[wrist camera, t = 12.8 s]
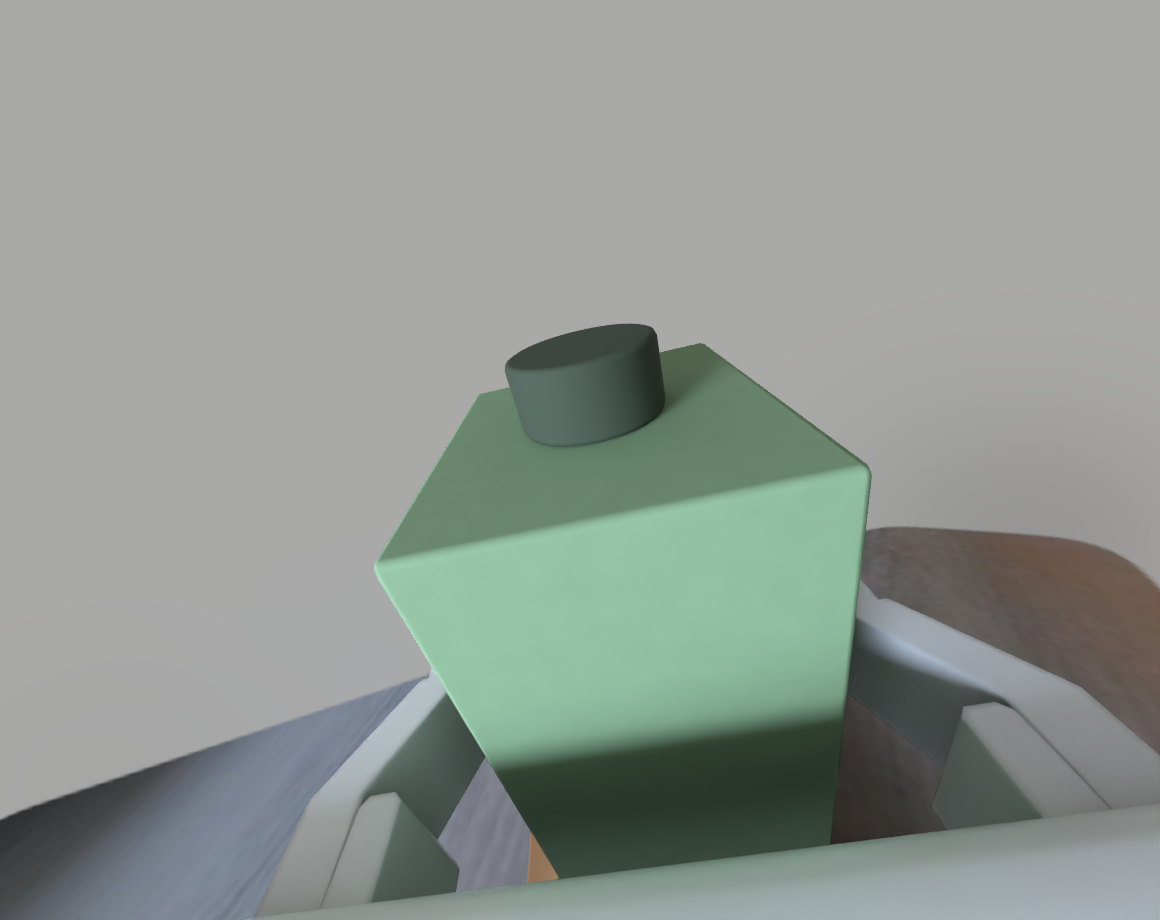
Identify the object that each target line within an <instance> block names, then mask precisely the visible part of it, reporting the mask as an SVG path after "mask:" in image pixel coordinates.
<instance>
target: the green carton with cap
mask: <svg viewBox="0 0 1160 920" xmlns="http://www.w3.org/2000/svg"><path fill="white" fill-rule="evenodd" d="M505 373H506V376H507V380H508V383H509V386H510V387H509V388H505V389H500V390H496V391H492V392H488V393H483V394H480V395H478V396H477V398H476V399H475V401H474V403H473V404H472V406H471V407H470V409H469V411H468V412H467V414H466V416H465V417H464V419H463V420H462V422H461V424H460V425H459V427H458V429H457V430H456V432H455V433H454V435H453V437H452V438H451V440H450V442H449V443H448V445H447V446H446V448H445V450H444V451H443V453H442V455H441V456H440V458H439V459H438V461H437V463H436V464H435V466H434V468H433V469H432V471H431V472H430V474H429V476H428V477H427V479H426V481H425V482H424V484H423V486H422V487H421V489H420V491H419V492H418V494H417V495H416V497H415V498H414V500H413V502H412V503H411V505H410V507H409V508H408V510H407V512H406V513H405V515H404V516H403V518H402V520H401V521H400V523H399V525H398V526H397V528H396V529H395V531H394V533H393V534H392V536H391V538H390V539H389V541H388V542H387V544H386V546H385V547H384V549H383V551H382V552H381V554H380V555H379V557H378V559H377V560H376V562H375V566H374V570H375V574H376V576H377V578H378V579H379V581H380V582H381V584H382V586H383V587H384V589H385V591H386V593H387V594H388V596H389V597H390V599H391V601H392V602H393V604H394V606H395V607H396V609H397V611H398V612H399V614H400V616H401V617H402V619H403V621H404V622H405V624H406V625H407V627H408V629H409V630H410V632H411V634H412V636H413V637H414V639H415V641H416V642H417V644H418V645H419V647H420V649H421V650H422V652H423V654H424V655H425V657H426V659H427V660H428V662H429V664H430V665H431V667H432V669H433V670H434V672H435V674H436V675H437V677H438V679H439V680H440V682H441V684H442V685H443V687H444V688H445V690H446V692H447V693H448V695H449V697H450V698H451V700H452V702H453V703H454V705H455V707H456V708H457V710H458V712H459V713H460V715H461V717H462V718H463V720H464V722H465V723H466V725H467V727H468V728H469V730H470V732H471V733H472V735H473V736H474V738H475V740H476V741H477V743H478V745H479V746H480V748H481V750H482V751H483V753H484V755H485V756H486V758H487V760H488V761H489V763H490V765H491V766H492V768H493V770H494V771H495V773H496V775H497V776H498V778H499V779H500V781H501V783H502V784H503V786H504V788H505V789H506V791H507V793H508V794H509V796H510V798H511V799H512V801H513V803H514V804H515V806H516V808H517V809H518V811H519V813H520V814H521V816H522V818H523V819H524V821H525V823H526V824H527V826H528V827H529V829H530V831H531V832H532V834H533V836H534V837H535V839H536V841H537V842H538V844H539V846H540V847H541V849H542V851H543V852H544V854H545V856H546V857H547V859H548V861H549V862H550V864H551V866H552V867H553V869H554V870H555V872H556V874H557V875H558V877H559V879H564V878H572V877H580V876H588V875H596V874H604V873H611V872H619V871H627V870H635V869H643V868H651V867H659V866H667V865H675V864H683V863H691V862H699V861H707V860H715V859H722V858H730V857H738V856H746V855H754V854H762V853H770V852H778V851H786V850H794V849H802V848H810V847H818V846H826V845H830V839H831V830H832V821H833V813H834V804H835V795H836V786H837V777H838V769H839V760H840V751H841V742H842V733H843V725H844V716H845V707H846V698H847V689H848V681H849V672H850V663H851V654H852V645H853V636H854V628H855V619H856V610H857V601H858V592H859V584H860V575H861V566H862V557H863V548H864V540H865V531H866V522H867V513H868V504H869V496H870V495H869V494H870V486H871V477H872V475H871V472H870V469H869V467H868V465H867V464H866V463H864V462H863V461H862V460H860V459H859V458H858V457H856V456H855V455H854V454H852V453H851V452H849V451H848V450H847V449H845V448H844V447H843V446H841V445H840V444H839V443H837V442H836V441H835V440H833V439H832V438H831V437H829V436H828V435H826V434H825V433H824V432H822V431H821V430H820V429H818V428H817V427H816V426H814V425H813V424H812V423H810V422H809V421H807V420H806V419H805V418H803V417H802V416H801V415H799V414H798V413H797V412H795V411H794V410H793V409H791V408H790V407H789V406H787V405H786V404H784V403H783V402H782V401H780V400H779V399H778V398H776V397H775V396H774V395H772V394H771V393H770V392H768V391H767V390H766V389H764V388H763V387H761V386H760V385H759V384H757V383H756V382H755V381H753V380H752V379H751V378H749V377H748V376H747V375H745V374H744V373H743V372H741V371H740V370H738V369H737V368H736V367H734V366H733V365H732V364H730V363H729V362H728V361H726V360H725V359H724V358H722V357H721V356H719V355H718V354H717V353H715V352H714V351H713V350H711V349H710V348H709V347H707V346H706V345H705V344H701V343H699V344H695V345H690V346H686V347H682V348H677V349H673V350H669V351H664V352H661V353H659V347H658V340H657V334H656V333H655V331H654V329H653V328H651V327H649V326H646V325H640V324H616V325H606V326H600V327H594V328H589V329H584V330H580V331H576V332H572V333H568V334H564V335H560V336H557V337H554V338H551V339H548V340H545V341H542V342H540V343H537V344H535V345H532V346H530V347H528V348H526V349H524V350H522V351H520V352H519V353H517V354H516V355H514V356H513V357H512V358H510V359H509V360H508V361H507V363H506V365H505Z"/></svg>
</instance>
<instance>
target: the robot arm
mask: <svg viewBox="0 0 1160 920" xmlns="http://www.w3.org/2000/svg"><path fill="white" fill-rule="evenodd" d="M847 693H848V694H849V695H851V696H852V697H853V698H855V699H856V700H857V701H858V702H860V703H861V704H862V705H864V706H865V707H866V708H867V709H869V710H870V711H871V712H873V713H874V714H875V715H876V716H878V717H879V718H880V719H882V720H883V721H884V722H885V723H887V724H888V725H889V726H891V727H892V728H893V729H894V730H896V731H897V732H898V733H900V734H901V735H902V736H903V737H905V738H906V739H907V740H909V741H910V742H911V743H912V744H914V745H915V746H916V747H918V748H919V749H920V750H921V751H923V752H924V753H925V754H927V755H928V756H929V757H930V758H932V759H933V760H934V761H936V762H937V763H938V764H939V765H941V766H942V767H943V768H944V769H943V772H942V776H941V779H940V782H939V785H938V788H937V791H936V794H935V798H934V801H933V804H932V807H933V809H934V811H935V812H936V814H937V815H938V817H939V818H940V820H941V822H942V823H943V825H944V826H945V828H946V829H947V830H944V831H936V832H929V833H921V834H913V835H905V836H897V837H889V838H881V839H873V840H865V841H857V842H849V843H841V844H833V845H826V846H818V847H810V848H802V849H794V850H786V851H778V852H770V853H762V854H754V855H746V856H738V857H730V858H722V859H715V860H707V861H699V862H691V863H683V864H675V865H667V866H659V867H651V868H643V869H635V870H627V871H619V872H611V873H604V874H596V875H588V876H580V877H572V878H564V879H556V880H548V881H540V882H532V883H524V884H517V885H509V886H501V887H493V888H485V889H477V890H469V891H461V892H456V888H457V882H458V876H459V870H460V869H459V867H458V865H457V863H456V861H455V860H454V859H453V858H452V856H451V855H450V854H449V853H448V852H447V851H446V850H445V848H444V847H443V846H442V845H441V844H440V843H439V842H438V840H437V839H438V838H439V836H440V834H441V832H442V831H443V829H444V827H445V826H446V824H447V822H448V820H449V819H450V817H451V815H452V813H453V812H454V810H455V808H456V806H457V805H458V803H459V801H460V800H461V798H462V796H463V794H464V793H465V791H466V789H467V787H468V786H469V784H470V782H471V780H472V779H473V777H474V775H475V774H476V772H477V770H478V768H479V767H480V765H481V763H482V761H483V760H484V758H485V755H484V753H483V751H482V750H481V748H480V746H479V745H478V743H477V741H476V740H475V738H474V736H473V735H472V733H471V732H470V730H469V728H468V727H467V725H466V723H465V722H464V720H463V718H462V717H461V715H460V713H459V712H458V710H457V708H456V707H455V705H454V703H453V702H452V700H451V698H450V697H449V695H448V693H447V692H446V690H445V688H444V687H443V685H442V684H441V682H440V680H439V679H438V677H437V675H436V674H435V672H434V670H433V669H432V670H431V673H430V676H429V678H428V679H423V680H421V681H420V682H419V683H418V684H417V685H416V686H415V687H414V688H413V689H412V690H411V692H410V693H409V694H408V695H407V696H406V697H405V698H404V699H403V700H402V701H401V702H400V703H399V705H398V706H397V707H396V708H395V709H394V710H393V711H392V712H391V713H390V714H389V715H388V716H387V718H386V719H385V720H384V721H383V722H382V723H381V724H380V725H379V726H378V727H377V728H376V729H375V730H374V732H373V733H372V734H371V735H370V736H369V737H368V738H367V739H366V740H365V741H364V742H363V743H362V745H361V746H360V747H359V748H358V749H357V750H356V751H355V752H354V753H353V754H352V755H351V756H350V758H349V759H348V760H347V761H346V762H345V763H344V764H343V765H342V766H341V767H340V768H339V769H338V770H337V772H336V773H335V774H334V775H333V776H332V777H331V778H330V779H329V780H328V781H327V782H326V783H325V785H324V786H323V787H322V788H321V789H320V790H319V791H318V792H317V793H316V794H315V795H314V796H313V798H312V799H311V800H310V801H309V802H308V804H307V806H306V808H305V810H304V812H303V814H302V816H301V818H300V821H299V823H298V825H297V827H296V829H295V831H294V833H293V835H292V837H291V840H290V842H289V844H288V846H287V848H286V850H285V852H284V854H283V857H282V859H281V861H280V863H279V865H278V867H277V869H276V871H275V873H274V876H273V878H272V880H271V882H270V884H269V886H268V888H267V890H266V892H265V895H264V897H263V899H262V901H261V903H260V905H259V907H258V909H257V911H256V914H255V916H254V918H248V919H240V920H1160V755H1158V754H1157V753H1156V752H1155V751H1154V750H1153V749H1152V748H1150V747H1149V746H1148V745H1147V744H1146V743H1145V742H1143V741H1142V740H1141V739H1140V738H1139V737H1138V736H1137V735H1135V734H1134V733H1133V732H1132V731H1131V730H1130V729H1129V728H1127V727H1126V726H1125V725H1124V724H1123V723H1122V722H1120V721H1119V720H1118V719H1117V718H1116V717H1115V716H1114V715H1112V714H1111V713H1110V712H1109V711H1108V710H1107V709H1105V708H1104V707H1103V706H1102V705H1101V704H1100V703H1099V702H1097V701H1096V700H1095V699H1094V698H1093V697H1092V696H1090V695H1089V694H1088V693H1087V692H1086V691H1085V690H1084V689H1082V688H1081V687H1080V686H1078V685H1076V684H1073V683H1071V682H1069V681H1067V680H1065V679H1062V678H1060V677H1058V676H1056V675H1054V674H1052V673H1049V672H1047V671H1045V670H1043V669H1041V668H1038V667H1036V666H1034V665H1032V664H1030V663H1028V662H1025V661H1023V660H1021V659H1019V658H1017V657H1015V656H1012V655H1010V654H1008V653H1006V652H1004V651H1001V650H999V649H997V648H995V647H993V646H991V645H988V644H986V643H984V642H982V641H980V640H977V639H975V638H973V637H971V636H969V635H967V634H964V633H962V632H960V631H958V630H956V629H953V628H951V627H949V626H947V625H945V624H943V623H940V622H938V621H936V620H934V619H932V618H929V617H927V616H925V615H923V614H921V613H919V612H916V611H914V610H912V609H910V608H908V607H906V606H903V605H901V604H899V603H897V602H895V601H892V600H890V599H888V598H887V599H880V600H879V599H878V598H877V597H876V596H875V595H874V594H873V593H872V591H871V590H870V589H869V588H868V587H867V586H866V585H865V583H864V582H863V581H862V580H861V579H860V584H859V592H858V601H857V610H856V619H855V628H854V636H853V645H852V654H851V663H850V672H849V681H848V689H847Z"/></svg>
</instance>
